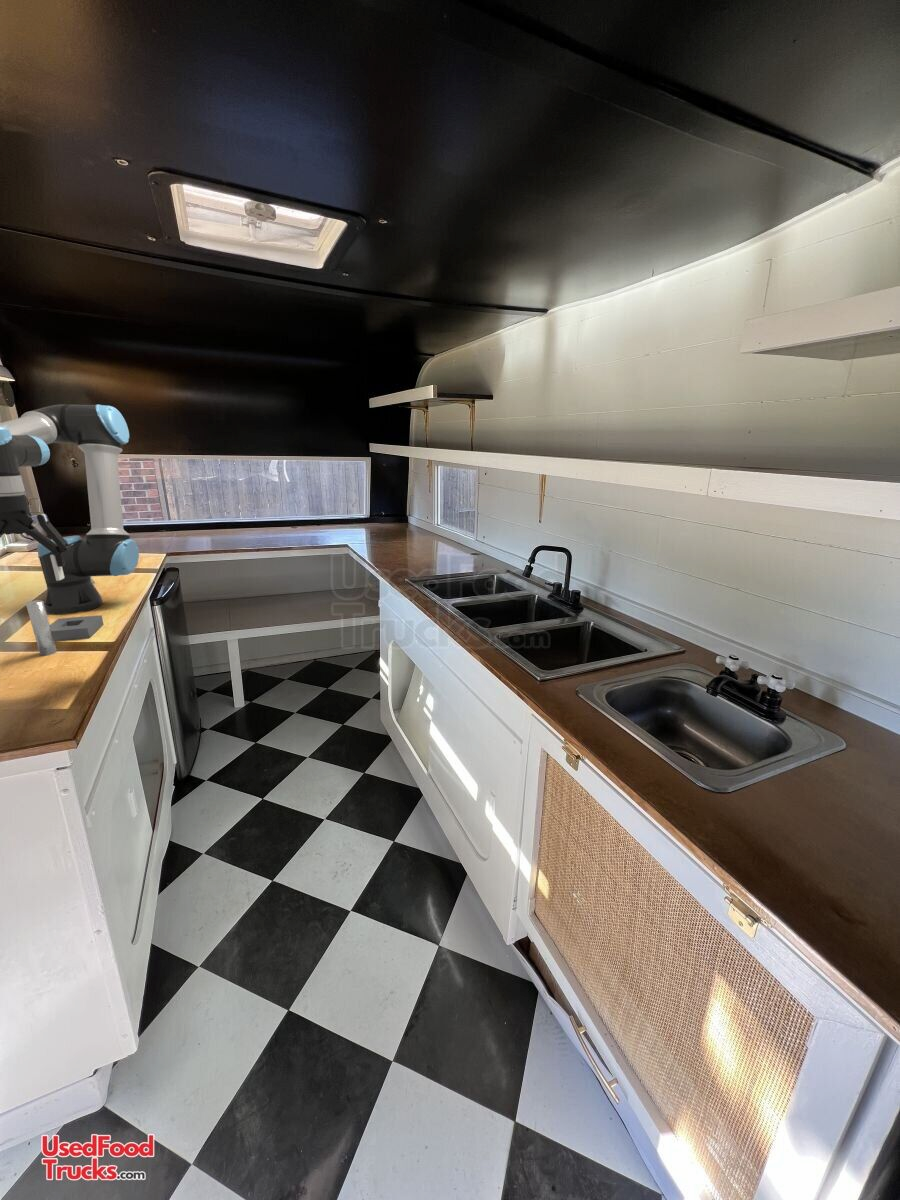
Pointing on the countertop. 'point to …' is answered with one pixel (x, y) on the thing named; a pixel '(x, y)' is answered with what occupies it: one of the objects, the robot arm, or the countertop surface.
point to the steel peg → (41, 627)
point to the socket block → (75, 627)
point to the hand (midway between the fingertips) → (28, 581)
